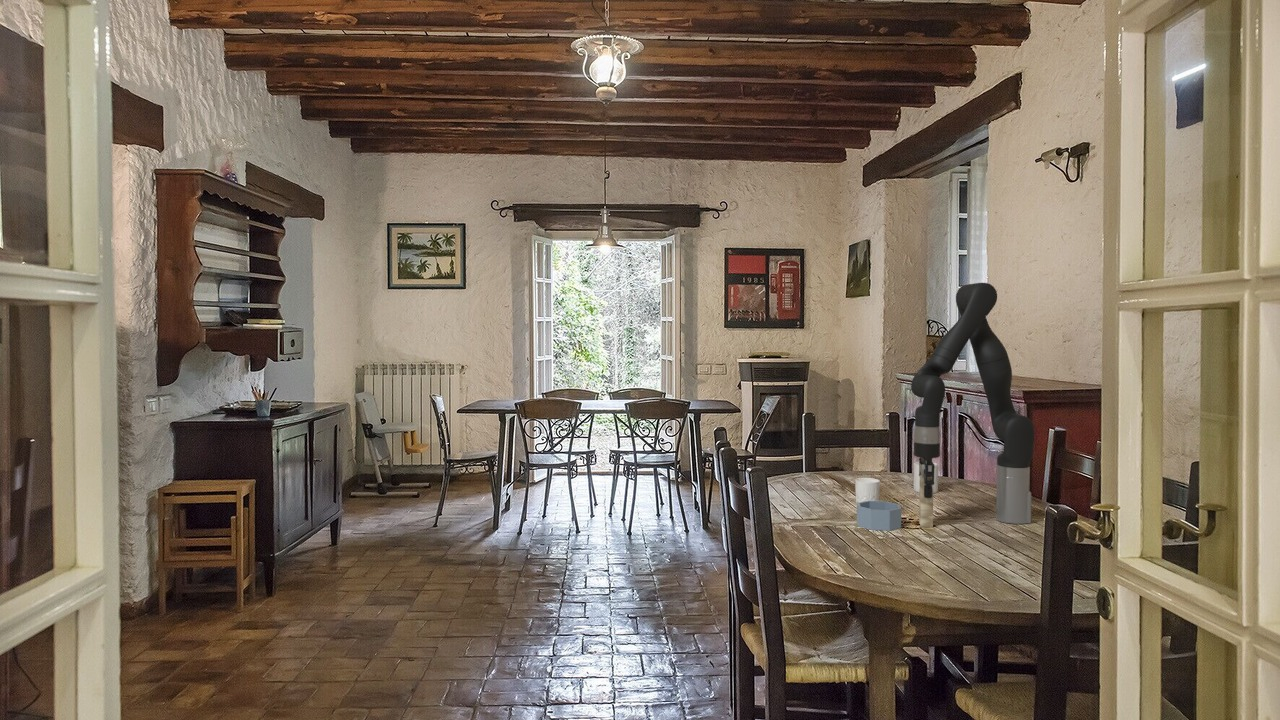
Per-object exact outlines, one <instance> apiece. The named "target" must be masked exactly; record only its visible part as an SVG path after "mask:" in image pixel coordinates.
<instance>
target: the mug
mask: <svg viewBox="0 0 1280 720" xmlns="http://www.w3.org/2000/svg"><path fill="white" fill-rule="evenodd" d="M933 464H934V466H935V468H934V485H933V495H935V494H937V493H938V491H939V489H938V488H939V464H938V462H937V463H936V462H933ZM913 491H914V492H915V493H918V494H919V491H920V477H919V461H915V462H914V463H913Z"/></svg>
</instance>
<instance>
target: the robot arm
mask: <svg viewBox="0 0 1280 720" xmlns="http://www.w3.org/2000/svg"><path fill="white" fill-rule="evenodd" d="M997 301H998V292H997V289H996V287H994V286H993V285H992V284H991V283H988V282H977V283H970V284H969V283H967V284H965V285H962V286H961V287H960V288H958V290H957V292H956V294H955V303H956V307H957V310H958V312H959V314H960V317H959V319H958V320H957V321H956V322H955V324H954V325H953V326H952V327H951V328H950V329H948V331H947V332H946V333H945V334H944V335H943V337H941V338H940V340H939V341H938V343H937V344H936V346H935V348H934V350H933V351H932V354H931V355H930V357H929V359H928V360H927V361H926V362H925V363H924V364H923V365H922V366H921V367H920V368H919V370H918V371H917V372H916V373H915V375H914V376H913V378H912V380H911V384H910V390H911V392H912V394H913V395H914V396H916V397H918V398H922V399H923V400H922V404H921V406H918V407H916V408H915V412H914V431H913V456H915V457H916V458H918V462H919V477H920V475H922V478H923V479H924V497H925V498H932V486H933V485H934V468H935V466H934V464H933V463H934V462H933V459H938V458H939V457H940V455H941V430H940V429H941V428H940V420H941V418H940V417H941V415H940V414H941V413H940V412H941V410H942V407H943V402H944V399H945V396H946V385H945V383H944V380H943V379H942V378H941V376H942V375H946V374H949V373H950V371H951V370H952V369H953V368H954V365H955V363H956V362H957V360H958V358H959V357H960V354H961V353H962V351H963V350H964V348H965V346H966V345H967V343H969V342H970V345H971V349H972V352H973V354H974V359H975V363H976V366H977V369H978V373H979V376H980V378H981V383H982V387H983V391H984V392H985V396H986V399H987V404H988V409H989V413H990V420H991V426H992V430H993V432H994V434H995V436H996V438H998V440H1001V441H1002V442H1003V449H1002V450H1003V451H1002V453H1000V454H999V455H998V456H997V457H996V497H995V498H996V500H995V501H996V503H995V504H996V505H995V520H996V521H999V522H1000V523H1001V522H1002V523H1006V524H1014V525H1022V524H1025V525H1026V524H1031V522H1032V492H1031V491H1030V479H1031V478H1030V475H1031V474H1030V473H1031V460H1032V459H1033V455H1034V447H1035V446H1034V445H1035V444H1034V443H1035V427H1034V424H1033V421H1032V420H1031V419H1030V418H1029V417H1027V416H1026V415H1022V414H1017V411H1016V409H1015V407H1014V404H1013V403H1014V402H1013V400H1012V396H1011V395H1012V394H1011V387H1012V381H1013V371H1012V365H1011V361H1010V358H1009V355H1008V351H1007V349H1006V348H1005V346H1004V344H1003V343H1002V341H1001V340H1000V339H999V337H998V336H997V335H996V334H995V333H994V331H993V330H992V328H991V327H990V325H989V322H988V319H987V316H988V315H989V314H990V313H991V312H992V310H993V309H994V307H995V306H996V303H997ZM927 478H929V479H930V480H931V481H929V480H927Z"/></svg>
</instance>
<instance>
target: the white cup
mask: <svg viewBox="0 0 1280 720" xmlns="http://www.w3.org/2000/svg"><path fill="white" fill-rule="evenodd" d="M880 484H881V480H880V479H877V478H872V477H857V478H855V479H854V490H855V491H854V492H855V503H856V505H857V503H858V502H863V501H880V500H879V499H880V497H879V496H880V487H881V485H880Z"/></svg>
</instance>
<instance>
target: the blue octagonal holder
mask: <svg viewBox="0 0 1280 720" xmlns="http://www.w3.org/2000/svg"><path fill="white" fill-rule="evenodd" d="M856 524H857V527H860V528H863V529H867V530H871V531H883V532H884V531H888V532H891V531H896V530H900V529H902V507H901V505H900V504H898V503H896V502H895V503H894V502H891V501H886V500H879V501H863V502H858V503H857V504H856Z"/></svg>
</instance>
